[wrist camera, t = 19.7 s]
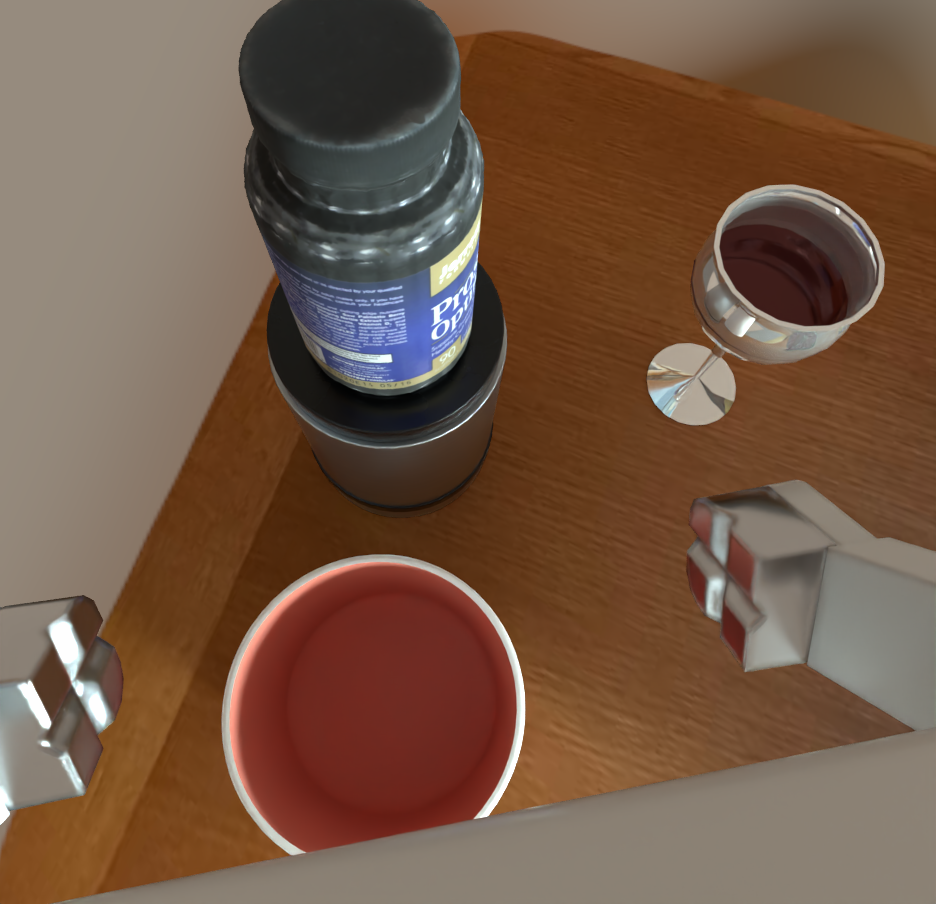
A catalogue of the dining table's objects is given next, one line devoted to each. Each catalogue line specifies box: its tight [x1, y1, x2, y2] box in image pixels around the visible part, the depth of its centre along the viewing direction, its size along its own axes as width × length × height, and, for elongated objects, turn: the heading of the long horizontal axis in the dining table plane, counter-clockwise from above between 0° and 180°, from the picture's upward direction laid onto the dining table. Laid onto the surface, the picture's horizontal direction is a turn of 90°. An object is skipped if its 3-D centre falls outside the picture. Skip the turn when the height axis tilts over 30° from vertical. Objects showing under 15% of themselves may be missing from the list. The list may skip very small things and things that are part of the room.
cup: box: [222, 554, 525, 855], centre depth 27 cm, size 10×10×10 cm
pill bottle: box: [239, 0, 484, 396], centre depth 19 cm, size 6×6×11 cm
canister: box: [267, 261, 507, 518], centre depth 30 cm, size 9×9×12 cm
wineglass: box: [647, 185, 885, 425], centre depth 32 cm, size 7×7×12 cm
